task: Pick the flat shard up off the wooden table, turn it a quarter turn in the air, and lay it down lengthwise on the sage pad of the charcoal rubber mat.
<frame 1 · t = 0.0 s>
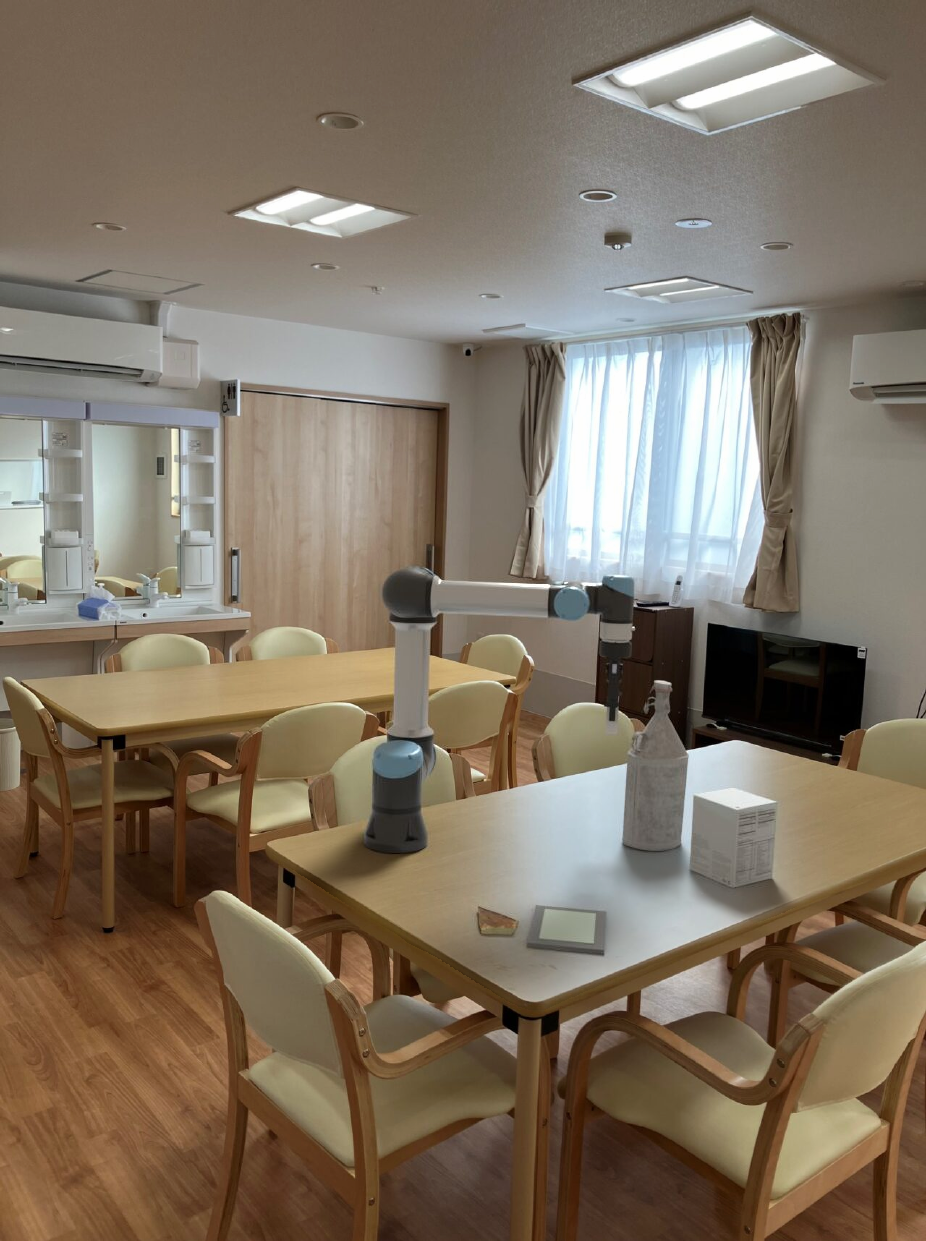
hand: (611, 728, 241), 28 cm above the table, tool pointing down, fingers open, 13 cm apart
supplement box: (730, 874, 225), on the table
shard: (489, 928, 194), on the table
grey stoneware bottle: (651, 844, 245), on the table
mat: (568, 930, 192), on the table
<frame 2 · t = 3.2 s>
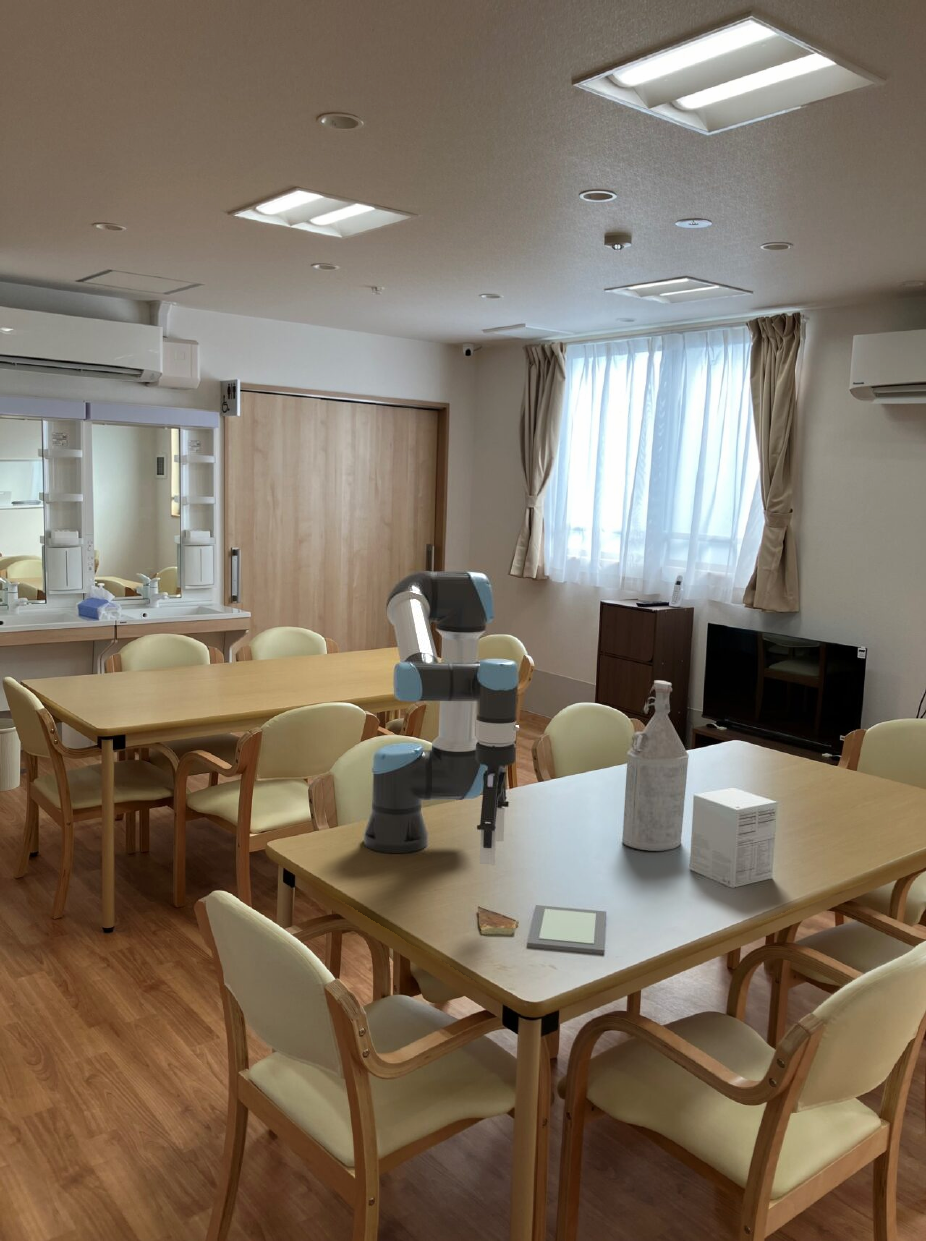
hand: (492, 851, 192), 15 cm above the table, tool pointing down, fingers open, 13 cm apart
nothing on the table moved.
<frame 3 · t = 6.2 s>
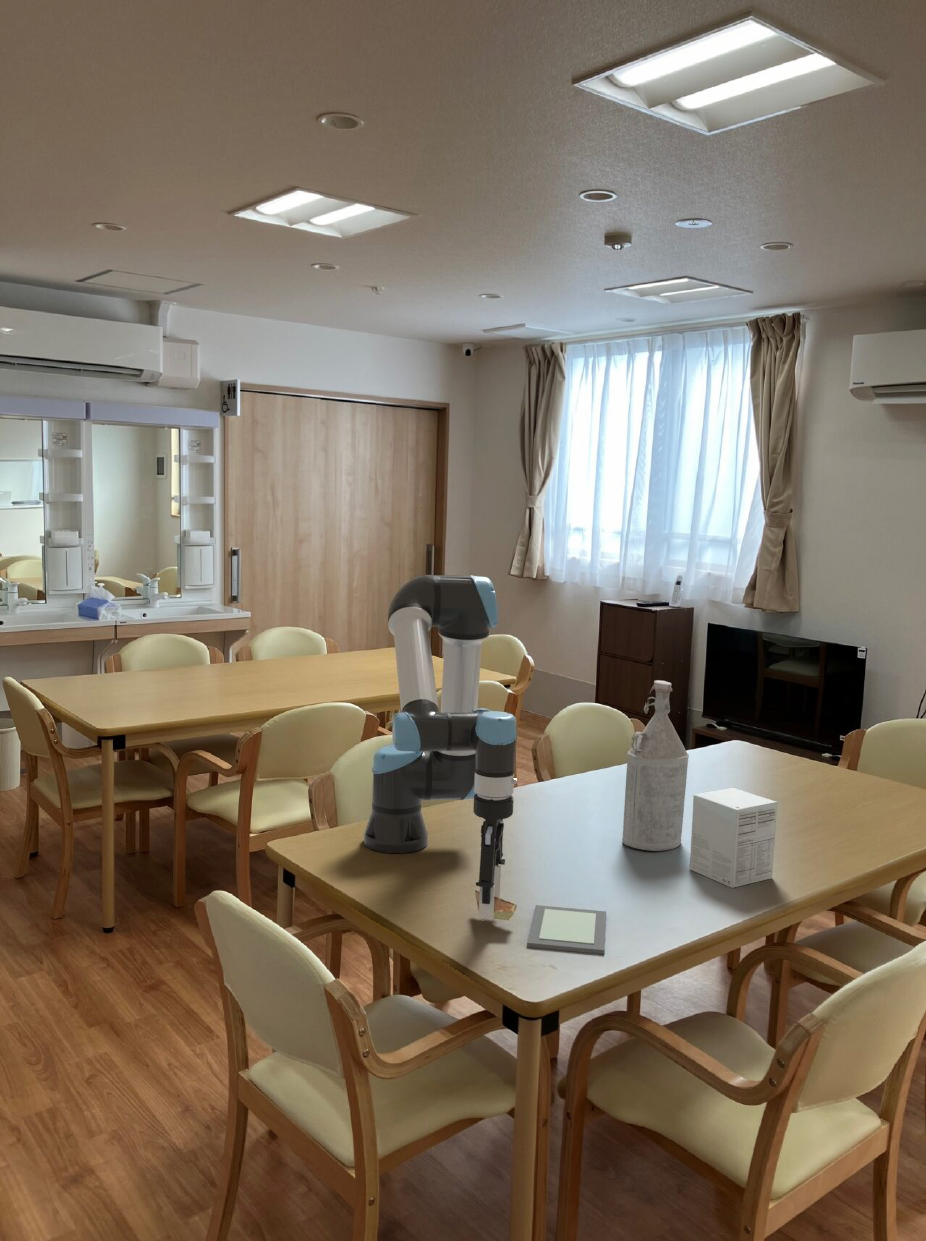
hand: (489, 907, 194), 3 cm above the table, tool pointing down, fingers closed on shard, 9 cm apart
shard: (487, 912, 193), point 2 cm above the table, touching gripper
everything else where it was.
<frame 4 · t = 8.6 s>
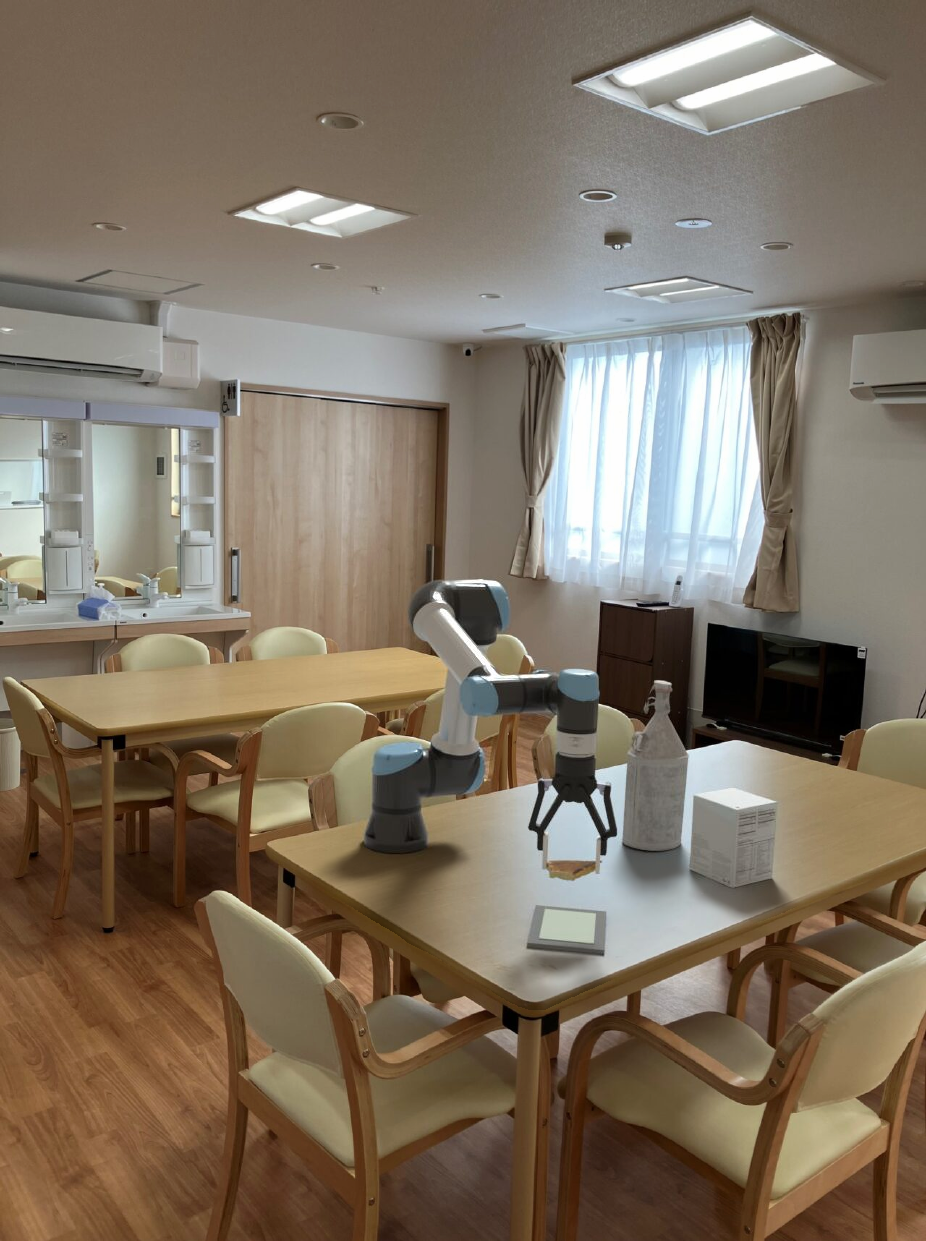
hand: (570, 869, 191), 12 cm above the table, tool pointing down, fingers closed on shard, 9 cm apart
shard: (568, 872, 191), point 11 cm above the table, touching gripper
everything else where it was.
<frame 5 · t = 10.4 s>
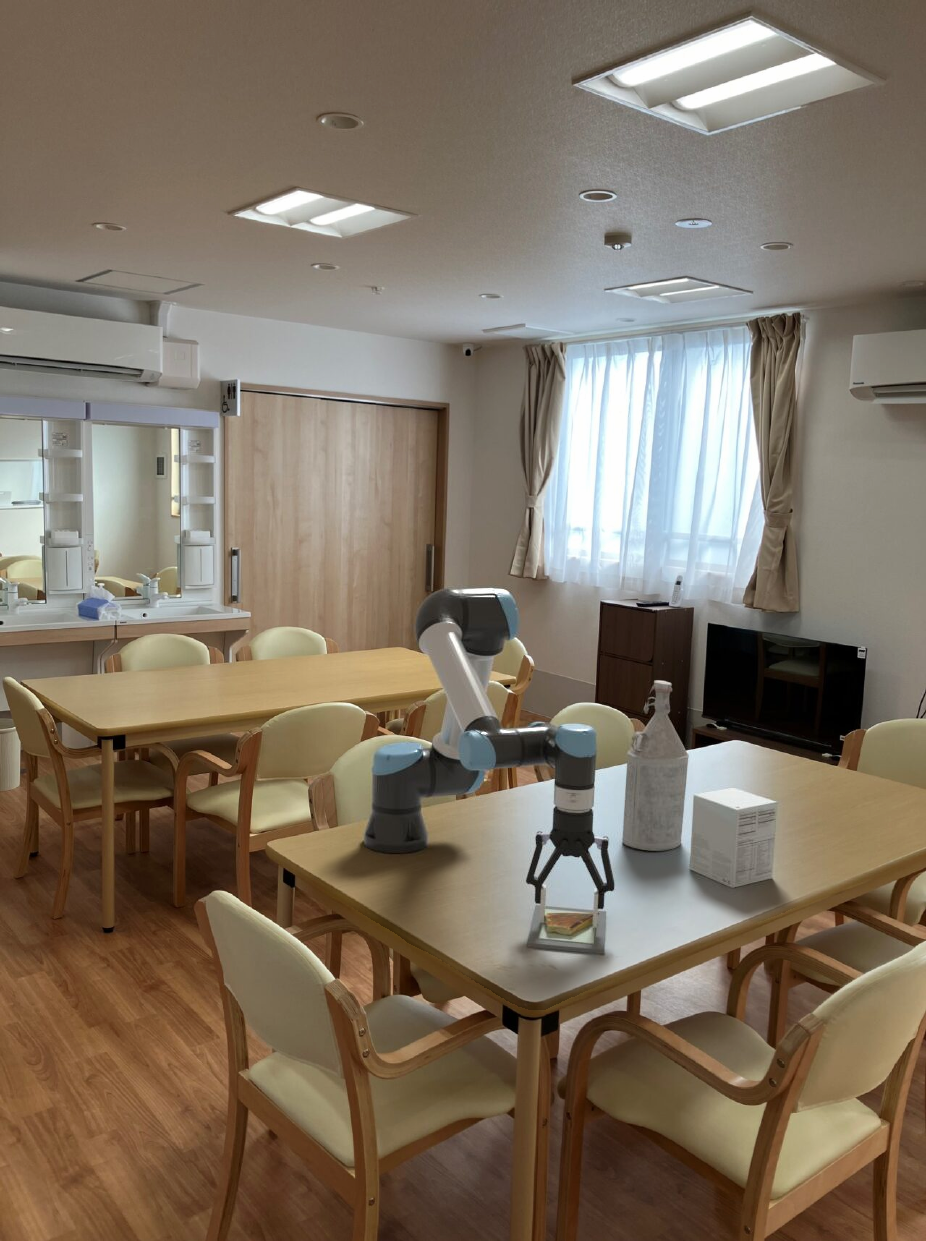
hand: (568, 921, 192), 2 cm above the table, tool pointing down, fingers closed on shard, 9 cm apart
shard: (565, 925, 192), point 1 cm above the table, touching gripper, mat
everything else where it was.
when the fingers open (2 cm above the table, at t = 11.3 s): shard stays where it is, resting on mat.
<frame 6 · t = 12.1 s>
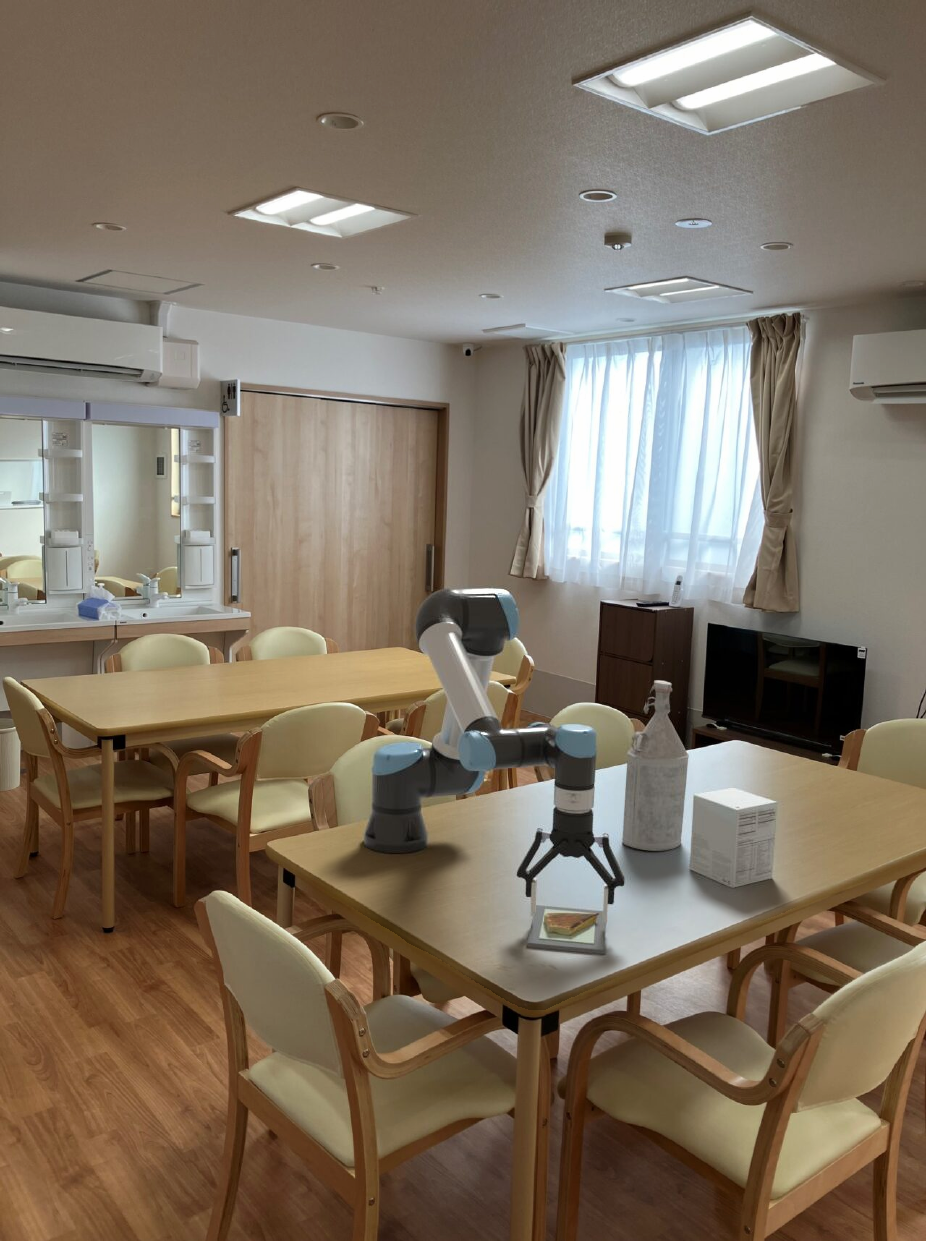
hand: (568, 916, 192), 3 cm above the table, tool pointing down, fingers open, 13 cm apart
shard: (565, 925, 192), point 1 cm above the table, touching mat
everything else where it was.
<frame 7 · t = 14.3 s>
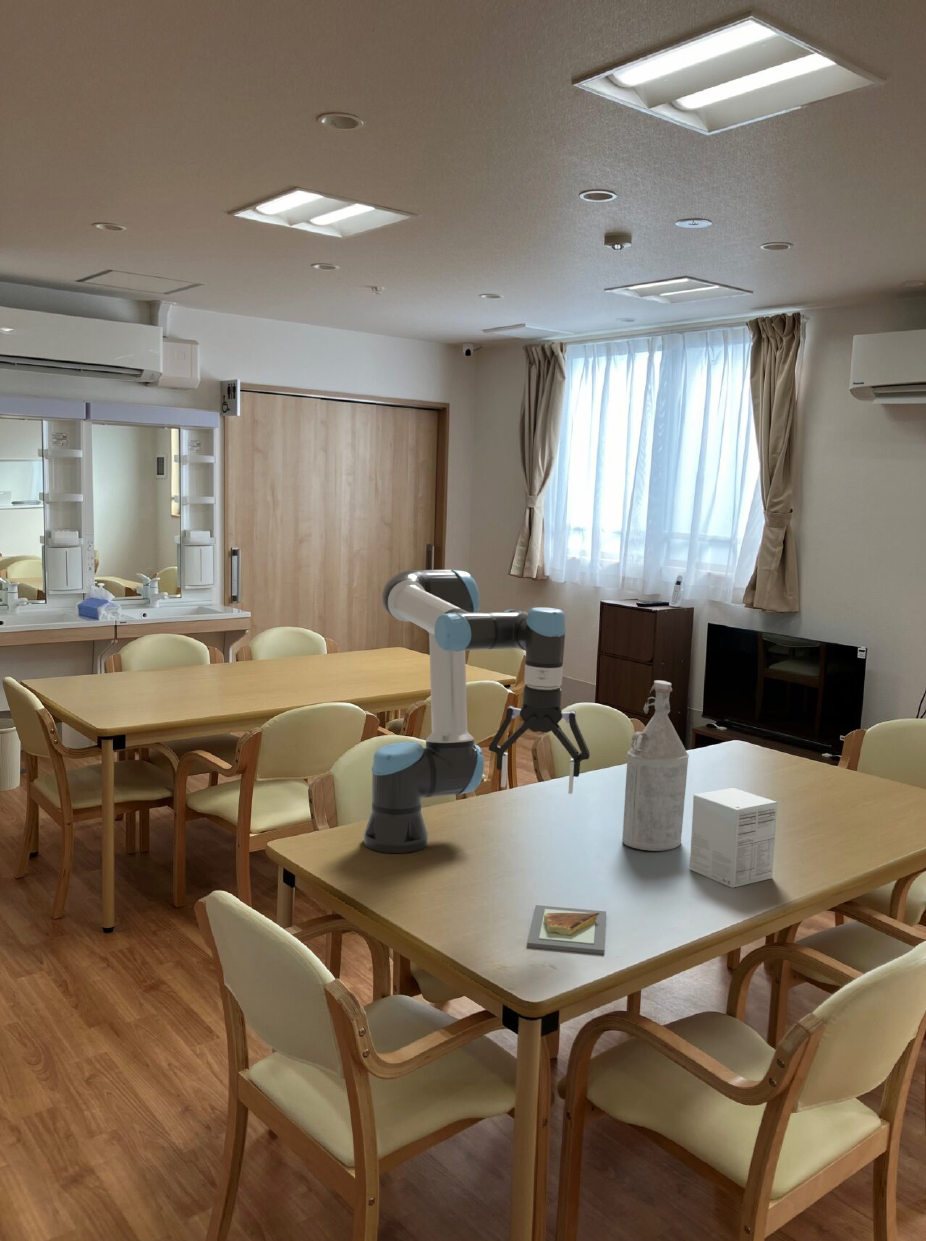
hand: (536, 788, 204), 23 cm above the table, tool pointing down, fingers open, 13 cm apart
nothing on the table moved.
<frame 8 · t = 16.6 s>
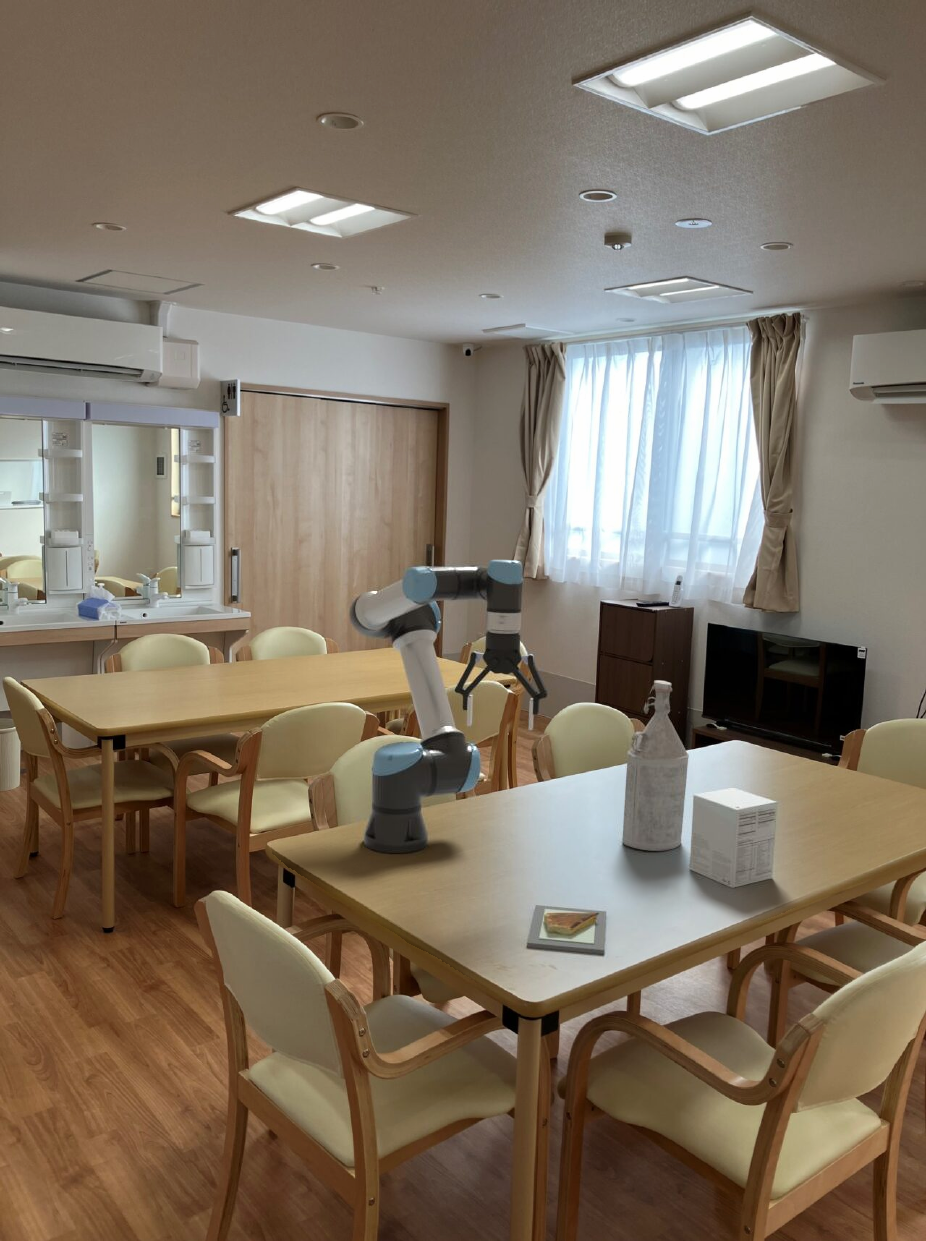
hand: (499, 727, 222), 32 cm above the table, tool pointing down, fingers open, 13 cm apart
nothing on the table moved.
at the end: shard inside the target area on the mat (0.7 cm from its centre), point 0.8 cm above the mat's base; shard touching mat; the gripper is holding nothing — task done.
